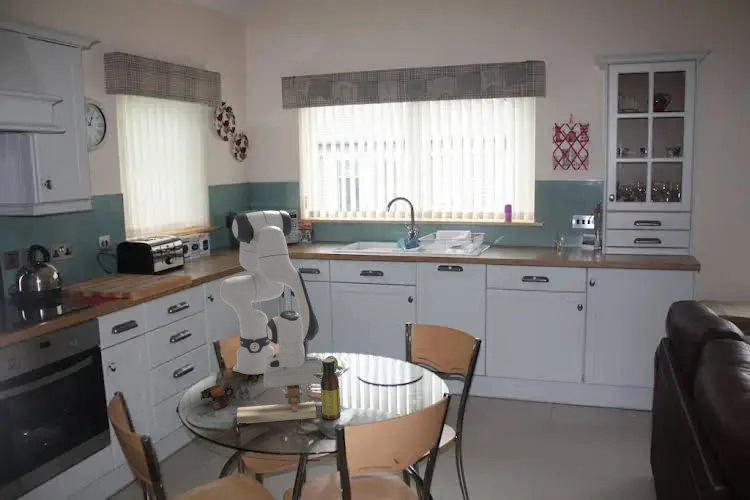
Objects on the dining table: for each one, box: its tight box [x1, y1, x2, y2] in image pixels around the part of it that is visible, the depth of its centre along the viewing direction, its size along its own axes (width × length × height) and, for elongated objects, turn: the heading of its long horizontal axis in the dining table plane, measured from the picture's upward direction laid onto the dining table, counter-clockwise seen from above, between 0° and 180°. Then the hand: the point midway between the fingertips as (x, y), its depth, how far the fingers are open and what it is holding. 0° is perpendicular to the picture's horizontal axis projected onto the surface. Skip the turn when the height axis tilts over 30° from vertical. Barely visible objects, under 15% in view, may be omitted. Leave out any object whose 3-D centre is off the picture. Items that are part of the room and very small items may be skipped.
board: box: [236, 401, 317, 425], centre depth 229 cm, size 8×26×3 cm, turn 98°
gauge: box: [286, 385, 301, 412], centre depth 231 cm, size 15×4×8 cm, turn 8°
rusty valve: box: [199, 383, 236, 409], centre depth 241 cm, size 12×10×8 cm
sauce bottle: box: [319, 357, 342, 420], centre depth 226 cm, size 7×6×20 cm
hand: (293, 396), depth 236 cm, fingers closed on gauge, 4 cm apart
